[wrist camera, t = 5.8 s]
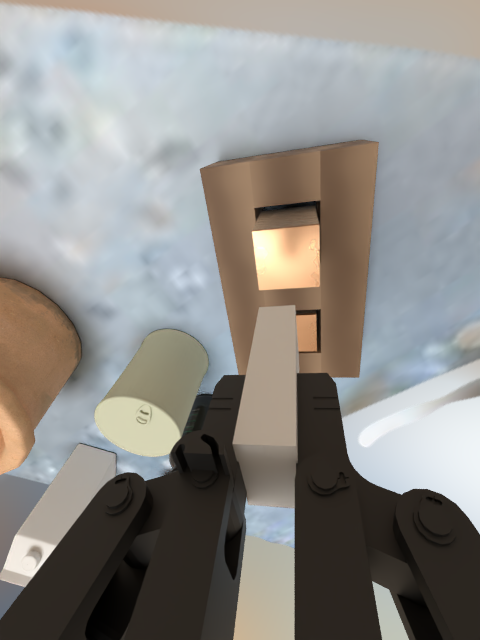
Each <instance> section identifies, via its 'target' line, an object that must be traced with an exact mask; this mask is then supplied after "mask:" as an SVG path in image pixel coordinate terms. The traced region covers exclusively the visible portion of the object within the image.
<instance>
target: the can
mask: <svg viewBox="0 0 480 640" xmlns="http://www.w3.org/2000/svg"><path fill="white" fill-rule="evenodd" d="M208 365H209V361H208V356H207V353H206V351H205V349H204V348H203V346H202V345H201V344H200V343H199V342H198V341H197V340H196V339H194V338H193V337H192V336H190V335H188V334H186V333H184V332H181V331H178V330H173V329H162V330H157V331H154V332H152V333H151V334H149V335H148V336H147V337H146V338H145V339H144V341H143V343H142V345H141V347H140V349H139V350H138V352H137V353H136V354H135V356H134V357H133V359H132V360H131V362H130V363H129V364H128V366H127V367H126V369H125V370H124V371H123V373H122V374H121V376H120V377H119V378H118V380H117V381H116V382H115V384H114V385H113V387H112V388H111V389H110V391H109V392H108V393H107V395H106V396H105V397H104V399H103V400H102V401H101V402H100V403H99V404H98V406H97V407H96V410H95V414H94V417H95V422H96V425H97V427H98V428H99V430H100V431H101V433H102V434H103V435H104V436H105V437H106V438H107V439H108V440H109V441H111V442H112V443H113V444H115V445H116V446H118V447H120V448H122V449H124V450H126V451H128V452H131V453H134V454H138V455H142V456H149V457H157V456H164V455H167V454H170V452H171V450H172V448H173V447H174V445H175V443H176V442H177V441H178V440H180V439H181V437H182V434H183V431H184V428H185V425H186V423H187V420H188V417H189V414H190V411H191V409H192V406H193V403H194V401H195V398H196V395H197V392H198V390H199V387H200V385H201V382H202V379H203V377H204V375H205V374H206V372H207V370H208Z"/></svg>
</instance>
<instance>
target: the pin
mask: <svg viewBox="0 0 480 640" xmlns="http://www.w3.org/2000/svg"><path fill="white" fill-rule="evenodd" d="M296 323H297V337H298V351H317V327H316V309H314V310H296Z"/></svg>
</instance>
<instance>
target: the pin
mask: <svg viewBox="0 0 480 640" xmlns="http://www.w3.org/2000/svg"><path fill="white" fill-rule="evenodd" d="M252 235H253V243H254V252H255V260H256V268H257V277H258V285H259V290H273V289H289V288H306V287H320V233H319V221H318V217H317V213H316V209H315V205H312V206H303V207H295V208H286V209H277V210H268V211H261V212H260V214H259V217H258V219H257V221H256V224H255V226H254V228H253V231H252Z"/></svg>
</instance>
